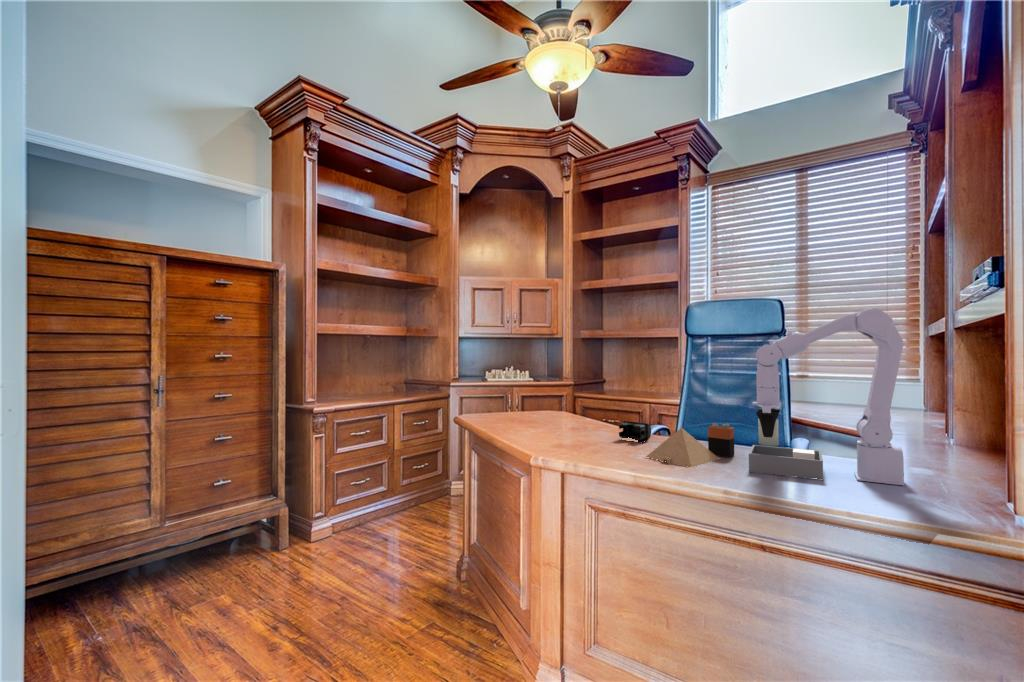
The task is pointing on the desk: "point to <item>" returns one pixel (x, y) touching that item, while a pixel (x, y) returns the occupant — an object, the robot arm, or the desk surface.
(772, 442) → the cylinder
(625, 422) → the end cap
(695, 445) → the model pyramid
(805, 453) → the cube
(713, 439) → the battery
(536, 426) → the desk surface
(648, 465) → the desk surface
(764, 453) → the tote
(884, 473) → the robot arm
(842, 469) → the desk surface
